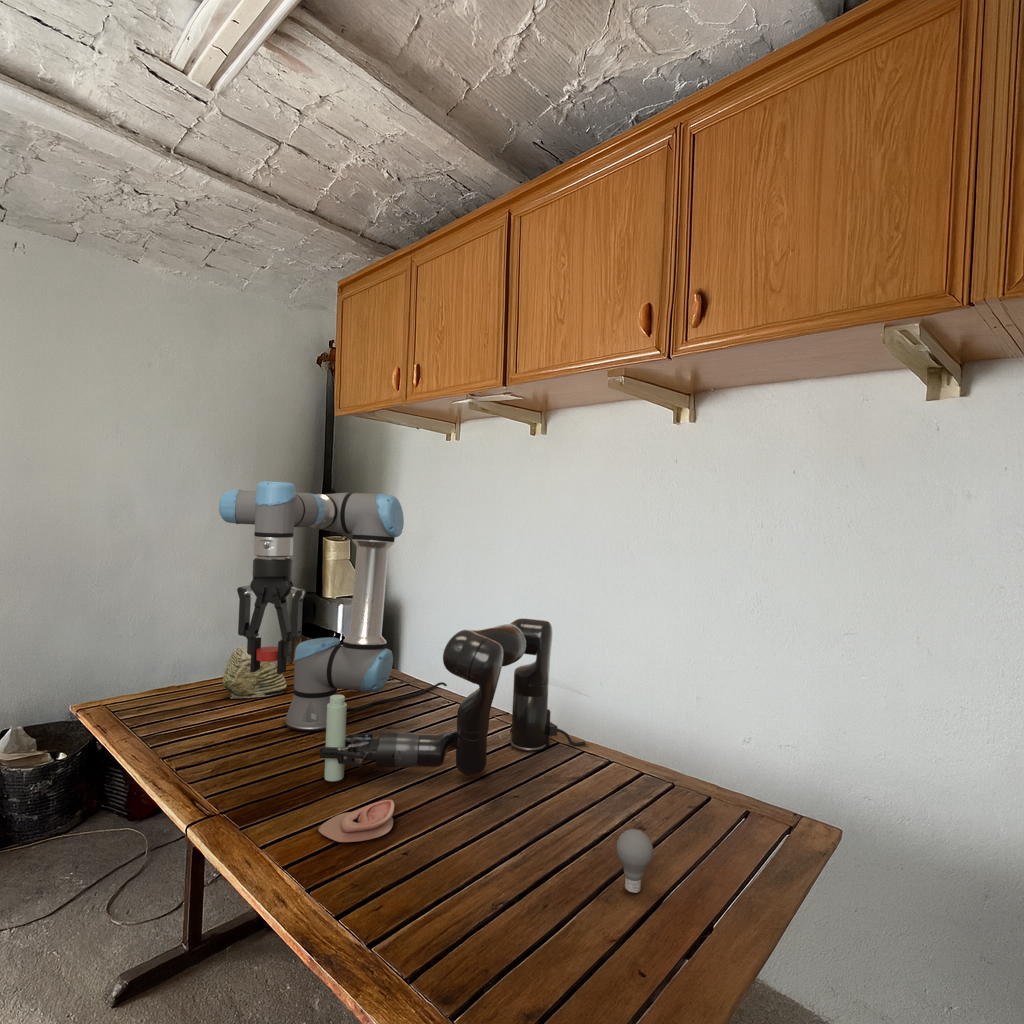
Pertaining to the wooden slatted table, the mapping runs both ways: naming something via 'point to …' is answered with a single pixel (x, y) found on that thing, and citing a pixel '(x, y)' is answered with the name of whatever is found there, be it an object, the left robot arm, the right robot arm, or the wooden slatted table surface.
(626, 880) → the light bulb
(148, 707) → the wooden slatted table surface
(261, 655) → the lid
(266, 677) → the fossil
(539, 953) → the wooden slatted table surface
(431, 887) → the wooden slatted table surface
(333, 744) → the pale green slim bottle
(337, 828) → the anatomical model
